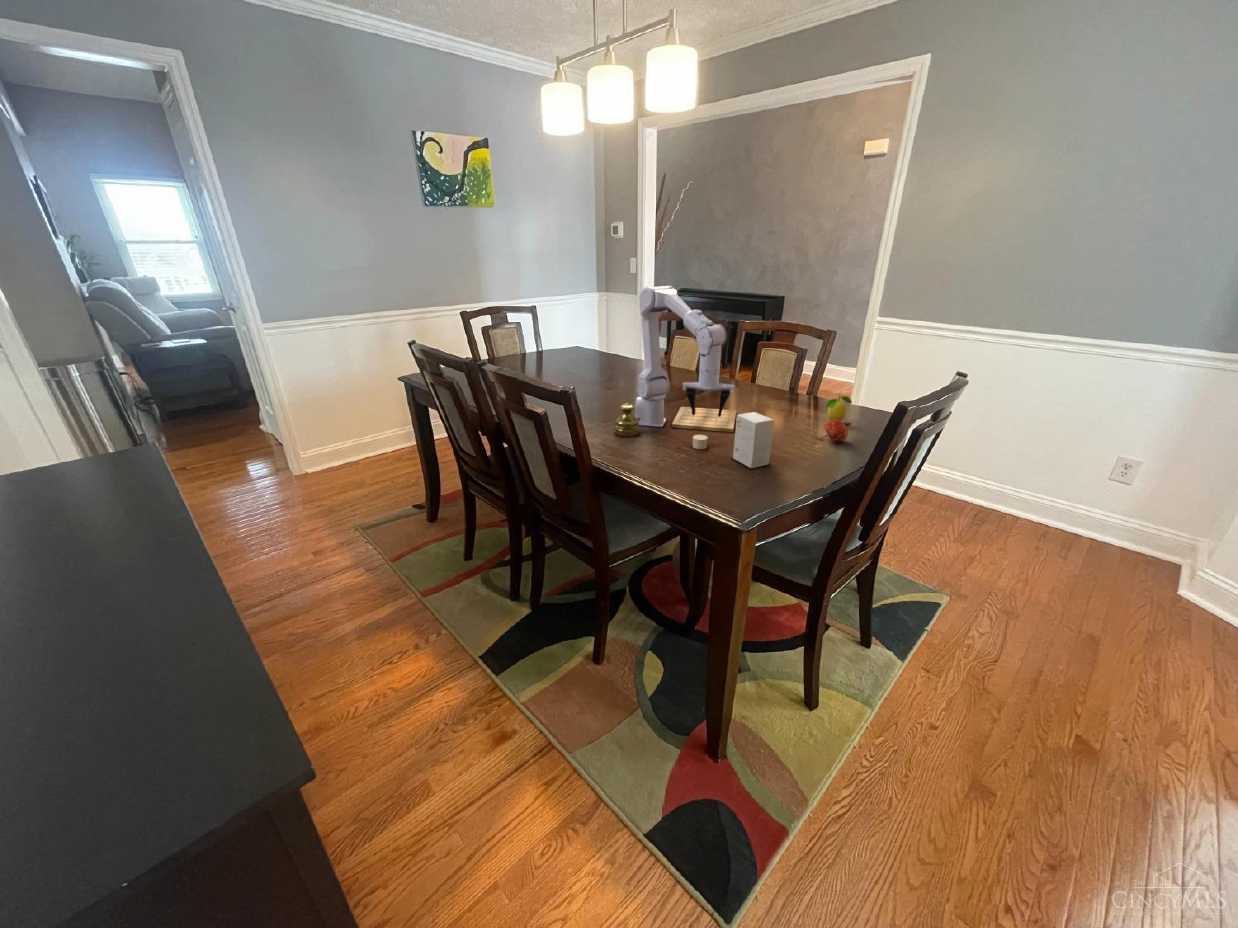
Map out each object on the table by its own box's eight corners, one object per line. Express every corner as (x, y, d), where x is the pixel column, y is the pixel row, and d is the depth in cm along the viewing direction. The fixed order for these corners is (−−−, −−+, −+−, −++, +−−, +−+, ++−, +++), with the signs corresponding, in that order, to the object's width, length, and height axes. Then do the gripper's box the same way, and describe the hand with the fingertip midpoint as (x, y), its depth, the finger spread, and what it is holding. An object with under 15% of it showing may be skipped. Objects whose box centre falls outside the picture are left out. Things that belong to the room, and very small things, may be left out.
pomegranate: (822, 451, 149) (854, 437, 143) (810, 430, 149) (841, 415, 143) (827, 446, 155) (858, 432, 148) (816, 426, 155) (846, 411, 149)
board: (671, 427, 163) (671, 423, 163) (680, 409, 181) (680, 406, 180) (733, 432, 158) (733, 428, 158) (736, 413, 176) (736, 410, 175)
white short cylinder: (691, 448, 146) (691, 439, 145) (693, 443, 150) (693, 434, 148) (706, 449, 145) (706, 440, 144) (707, 444, 149) (708, 435, 147)
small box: (769, 464, 134) (774, 419, 129) (750, 469, 132) (755, 423, 127) (749, 454, 141) (754, 411, 136) (732, 458, 139) (736, 414, 133)
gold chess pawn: (612, 431, 160) (611, 401, 156) (632, 428, 163) (632, 399, 159) (621, 438, 154) (621, 408, 150) (642, 435, 157) (643, 404, 153)
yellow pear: (848, 422, 166) (853, 393, 162) (842, 426, 162) (848, 397, 158) (828, 418, 170) (833, 390, 166) (822, 422, 166) (827, 394, 162)
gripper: (682, 371, 138) (680, 417, 143) (734, 373, 134) (730, 420, 140) (685, 365, 144) (683, 410, 149) (735, 368, 141) (732, 413, 146)
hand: (706, 414), depth 145 cm, fingers open, 7 cm apart
